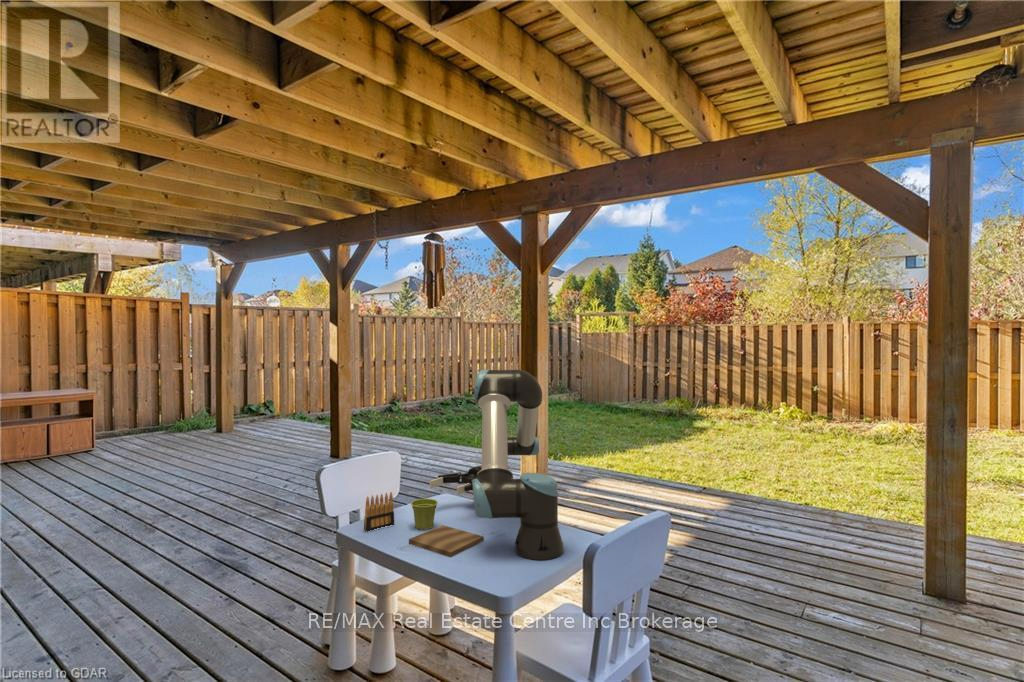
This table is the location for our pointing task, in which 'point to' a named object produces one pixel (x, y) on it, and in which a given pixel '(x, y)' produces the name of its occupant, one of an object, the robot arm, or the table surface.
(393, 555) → the table surface
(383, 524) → the ammunition clip
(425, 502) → the plant pot
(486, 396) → the robot arm
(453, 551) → the walnut board
